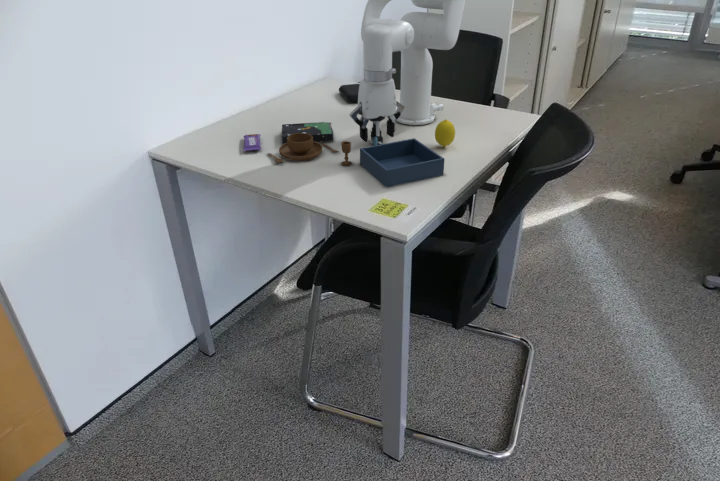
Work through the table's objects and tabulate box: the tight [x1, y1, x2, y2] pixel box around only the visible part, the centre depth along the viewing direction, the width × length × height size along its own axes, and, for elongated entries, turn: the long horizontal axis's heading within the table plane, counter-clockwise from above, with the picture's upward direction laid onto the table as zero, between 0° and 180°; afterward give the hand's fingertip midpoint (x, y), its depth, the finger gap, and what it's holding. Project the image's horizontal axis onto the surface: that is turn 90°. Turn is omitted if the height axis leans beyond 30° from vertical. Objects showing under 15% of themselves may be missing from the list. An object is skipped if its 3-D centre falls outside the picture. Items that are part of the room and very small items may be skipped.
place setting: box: [267, 133, 353, 167], centre depth 144 cm, size 18×20×6 cm
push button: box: [369, 116, 386, 146], centre depth 151 cm, size 7×5×10 cm
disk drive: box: [281, 121, 334, 145], centre depth 159 cm, size 10×3×15 cm
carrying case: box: [338, 83, 360, 104], centre depth 191 cm, size 11×3×15 cm
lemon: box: [434, 119, 456, 148], centre depth 150 cm, size 6×6×8 cm
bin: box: [359, 137, 445, 188], centre depth 138 cm, size 16×15×4 cm
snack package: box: [242, 133, 262, 152], centre depth 154 cm, size 12×2×5 cm
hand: (377, 137), depth 153 cm, fingers open, 7 cm apart
